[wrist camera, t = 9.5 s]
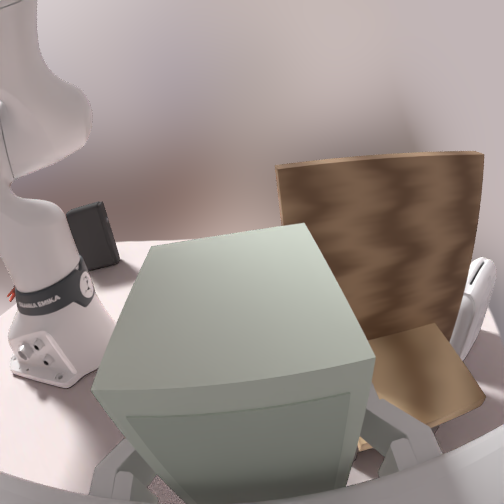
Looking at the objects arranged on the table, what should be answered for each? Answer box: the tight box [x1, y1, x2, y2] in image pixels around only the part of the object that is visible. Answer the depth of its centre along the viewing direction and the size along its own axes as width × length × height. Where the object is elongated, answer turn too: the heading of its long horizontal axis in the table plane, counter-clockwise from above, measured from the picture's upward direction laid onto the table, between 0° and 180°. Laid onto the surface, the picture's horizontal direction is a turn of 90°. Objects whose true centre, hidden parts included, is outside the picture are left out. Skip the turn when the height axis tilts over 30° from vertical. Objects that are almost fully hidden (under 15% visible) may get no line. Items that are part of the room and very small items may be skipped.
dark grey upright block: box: [66, 202, 120, 270], centre depth 68 cm, size 9×4×15 cm, turn 103°
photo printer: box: [449, 257, 497, 361], centre depth 32 cm, size 10×4×12 cm, turn 127°
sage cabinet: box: [91, 223, 376, 504], centre depth 10 cm, size 5×6×12 cm
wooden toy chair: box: [275, 151, 486, 461], centre depth 22 cm, size 17×11×26 cm, turn 94°
